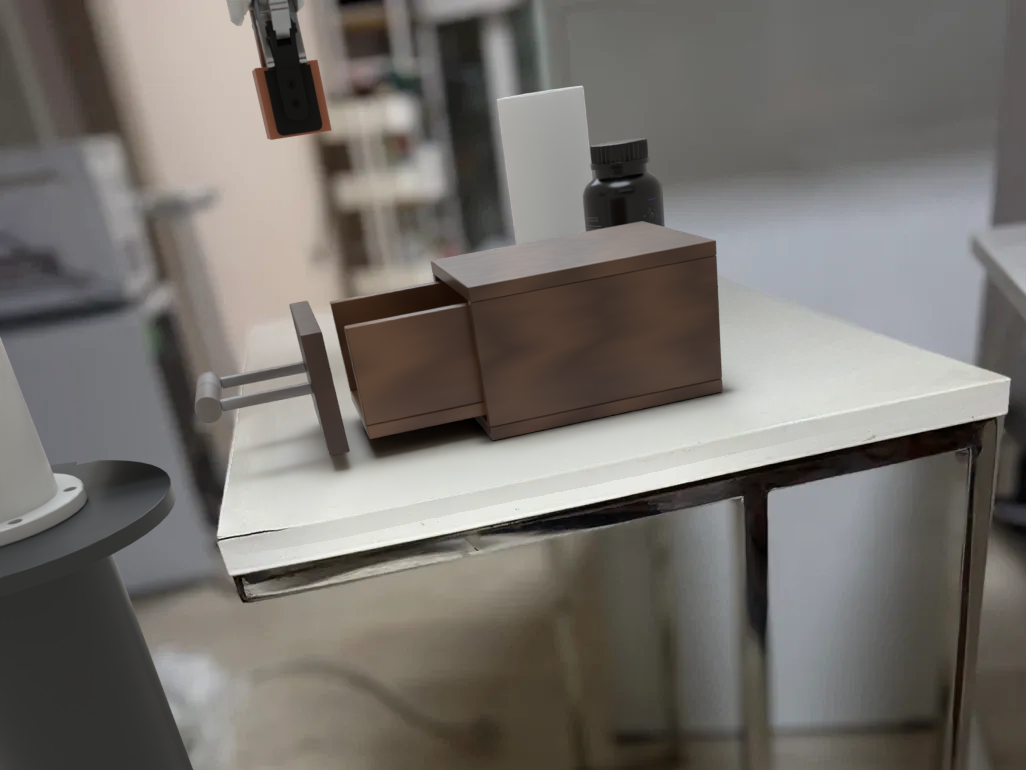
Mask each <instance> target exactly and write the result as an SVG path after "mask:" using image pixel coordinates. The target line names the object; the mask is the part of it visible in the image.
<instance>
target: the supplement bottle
mask: <svg viewBox="0 0 1026 770" xmlns="http://www.w3.org/2000/svg"><path fill="white" fill-rule="evenodd" d="M648 145H649V144H648V138H646V137H635V138H626V139H618V140H611V141H606V142H601V143H596V144H592V145H589V146H590V156H591V164H590V166H591V170H592V171H593V173H594V178H593V180H592V181H591V182H590V183H589V184H588V185H587V186H586V187H585V190H584V192H583V208H584V219H585V229H586V232H587V231H592V230H598V229H603V228H608V227H614V226H619V225H624V224H630V223H635V222H641V221H644V222H647V223H651V224H655V225H659V226H663V227H666V226H665V225H666V224H665V209H664V207H665V206H664V192H663V191H664V190H663V185H662V182H661V180H660V179H659V177H658V176H657V175H656V174H654V173H653V172H651V171H649V170H648V168H647V167H648V166H647V164H648V163H650V156H649V146H648Z"/></svg>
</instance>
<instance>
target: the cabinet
mask: <svg viewBox="0 0 1026 770" xmlns="http://www.w3.org/2000/svg"><path fill="white" fill-rule="evenodd" d="M717 257H718V256H717V240H715V239H711V238H708V237H705V236H700V235H697V234H693V233H689V232H685V231H682V230H677V229H673V228H670V227H667V226H665V227H663V226H659V225H655V224H651V223H647V222H644V221H641V222H635V223H630V224H624V225H619V226H614V227H608V228H603V229H598V230H592V231H587V232H581V233H576V234H571V235H565V236H560V237H555V238H549V239H544V240H538V241H533V242H528V243H522V244H517V245H516V244H512V245H511V244H510V245H507V246H501V247H496V248H491V249H486V250H480V251H475V252H474V251H473V252H469V253H462V254H459V255H453V256H447V257H442V258H437V259H432V260H430V266H431V273H432V279H433V282H435V281H441V280H442V281H443V282H445V283H446V284H447V285H449V286H450V287H451V288H453V289H454V290H455V291H456V292H458V293H459V294H460V295H462V296H463V297H464V298H465V299H467V300H468V305H469V312H470V318H471V324H472V330H473V336H474V342H475V349H476V355H477V361H478V367H479V373H480V379H481V386H482V392H483V398H484V404H485V410H486V415H483V416H478V417H473V418H474V419H475V421H476V422H477V423H478V424H479V425H480V427H481V428H482V430H483V431H484V432H485V433H486V434H487V435H488V437H489V438H490V439H491V440H492V441H497V440H501V439H506V438H511V437H515V436H520V435H525V434H529V433H534V432H540V431H544V430H549V429H554V428H558V427H563V426H568V425H572V424H577V423H582V422H586V421H591V420H595V419H600V418H605V417H609V416H615V415H619V414H624V413H628V412H634V411H638V410H642V409H643V410H644V409H647V408H652V407H656V406H660V405H666V404H671V403H676V402H681V401H684V400H689V399H694V398H699V397H703V396H708V395H709V396H710V395H713V394H718V393H722V392H724V391H723V390H724V389H723V369H722V368H723V367H722V346H721V345H722V344H721V323H720V302H719V278H718V263H717V262H718V259H717Z"/></svg>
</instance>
